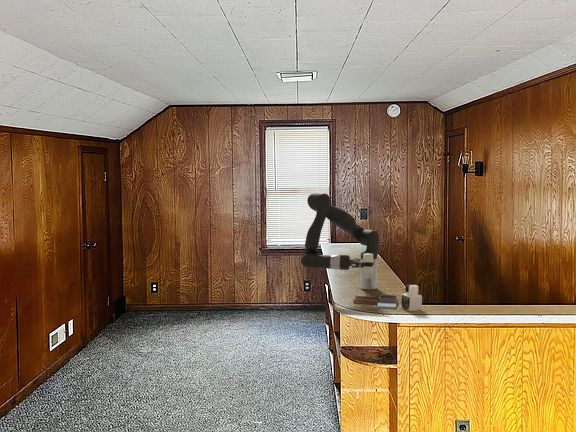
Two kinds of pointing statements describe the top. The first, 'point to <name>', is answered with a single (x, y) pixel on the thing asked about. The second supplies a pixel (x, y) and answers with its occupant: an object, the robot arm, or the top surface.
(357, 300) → the walnut channel
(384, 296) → the charcoal pit
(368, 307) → the top surface
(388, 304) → the slate-blue platform
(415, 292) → the medicine bottle
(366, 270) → the sage canister
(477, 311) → the top surface
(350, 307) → the top surface
